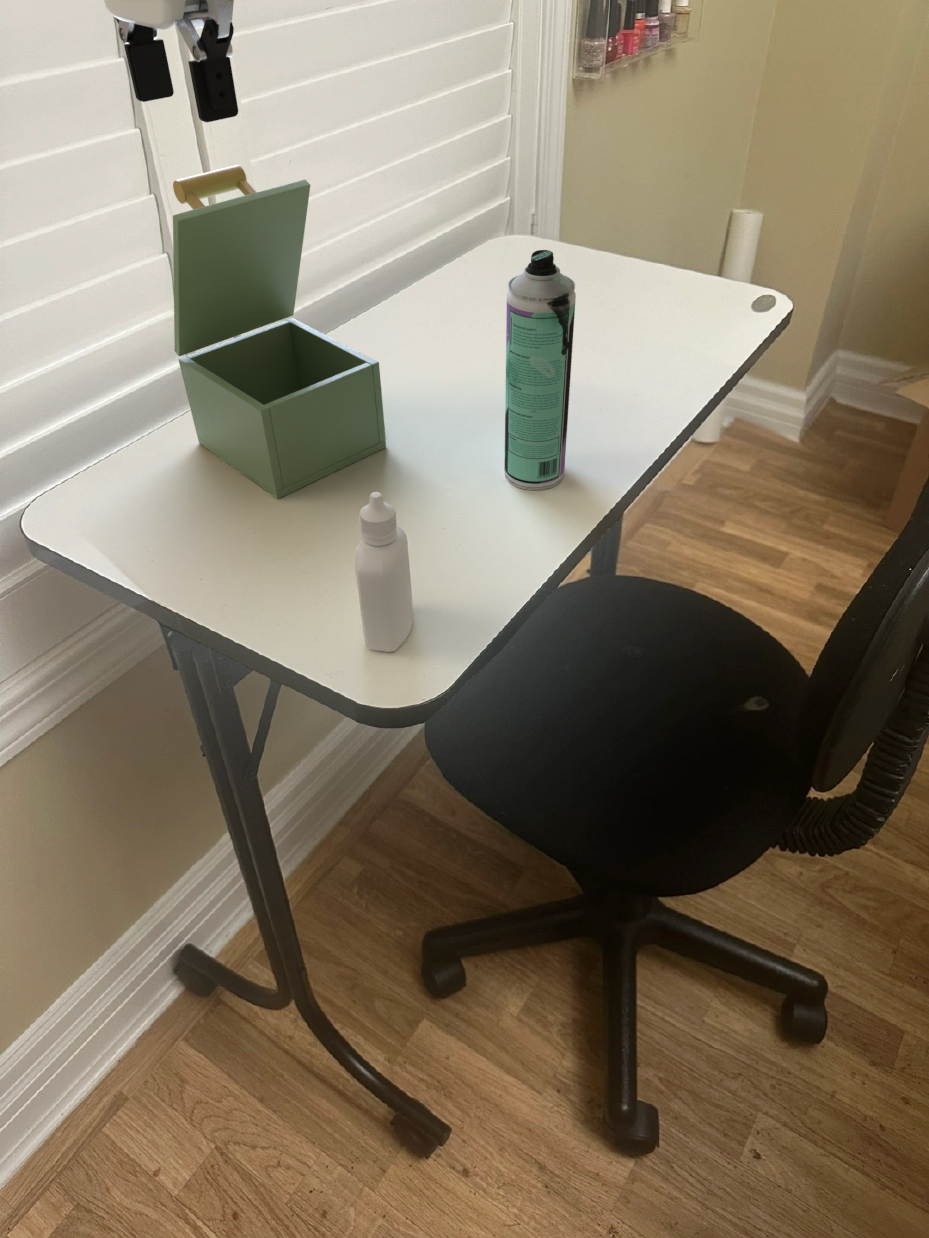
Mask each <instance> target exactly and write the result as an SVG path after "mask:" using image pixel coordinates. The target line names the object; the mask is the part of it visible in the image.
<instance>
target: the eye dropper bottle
mask: <svg viewBox="0 0 929 1238" xmlns="http://www.w3.org/2000/svg"><path fill="white" fill-rule="evenodd" d="M396 513H397V512H396V509H395V507H394V506H393V505H391V504H389V503H387V502H385V501H384V499H383V496H382V493H381V492H379V491H373V492H371V493H370V494H369V502H368V504H366V505H364V506H363V507H362V508H361V509H360V511H359V522H360V531H361V538H360V540H359V542H358V545H357V546H356V550H355V555H354V571H355V578H356V588H357V596H358V604H359V611H360V620H361V627H362V634H363V642H364V645H365V647H366V648H367V649H368V650H371V651H378V652H386V653H391V652H395V651H396V650H398V649H399V648H400V647H401V646H402V645H403V643H405V641H406V640H407V639H408V636H409V635H410V634H411V632H412V628H413V623H414V604H413V603H414V602H413V592H412V578H411V567H410V564H411V563H410V553H409V543H408V537H407V534H406V532H405V530H404V529H403V528H402V527H400V526H398V524H397V514H396Z"/></svg>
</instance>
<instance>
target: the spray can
mask: <svg viewBox="0 0 929 1238" xmlns="http://www.w3.org/2000/svg"><path fill="white" fill-rule="evenodd" d="M554 261H555V259H554V252H553V251H551V250H548V249H538V250H535V251H533V252H532V253H531V256H530V262H529V263H528V265H527V266H526V267H525V268H524V269H523V272H522V273H521V274H518V275H516V276H514V277H512V278H511V279H510V280H509V281H508V283H507V284H508V285H507V289H508V290H507V292H506V322H505V323H506V328H505V402H504V403H505V404H504V477H505V479H506V481H507V482H508V483H510V484H511V485H512V486H514V487H516V488H518V489H521V490H525V491H526V490H527V491H543V490H549V489H551V488H553V487H556V486H557V485H559V484H560V483H561V482H562V481H563V480H564V477H565V468H566V451H567V437H568V422H569V420H568V419H569V407H570V405H569V404H570V402H569V401H570V390H571V375H572V374H571V373H572V360H573V359H572V358H573V344H574V343H573V342H574V328H575V312H576V298H577V297H576V295H577V294H576V292H575V290H576V283H575V282H574V280H573V279H572V278H570V277H569V276H567V275H564V274H563V273H561V269H560V268H559V266H557V265H556V263H555V262H554Z"/></svg>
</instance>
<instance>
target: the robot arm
mask: <svg viewBox="0 0 929 1238" xmlns="http://www.w3.org/2000/svg"><path fill="white" fill-rule="evenodd" d="M103 1H104V4H105V7H106V9H107V11H108V12H109V13H110V14H111V15H112V16H113V17H114V19H115V21H116V22H117V24H118V27H117V31H118V32H117V33H118V37H119V39H120V42H122V43H123V46H124V52H125V55H126V60H127V64H128V68H129V69H128V70H129V73H130V77H131V82H132V86H133V91H134V95H135V98H136V100H137V101H139V102H142V103H146V102H151V101H155V100H162V99H167V98H171V97H173V96H174V93H175V90H174V86H173V81H172V75H171V71H170V65H169V62H168V56H167V51H166V46H165V42H164V41H165V40H164V39H161V38H158V33H159V30H169V29H172V28H173V26H174V25H176V26H177V28H178V30H179V32H180V34H181V36H182V38H183V41H184V42H185V44H186V46H187V48H188V50H189V52H190V54H191V56H192V57H193V60H188V61H187V63H188V67H189V68H188V69H189V74H190V78H191V84H192V89H193V94H194V100H195V104H196V111H197V115H198V119H199V120H200V121H201V122H203V123H212V122H216V121H220V120H224V119H225V120H226V119H230V118H234V117H237V116H238V114H239V108H238V107H239V106H238V100H237V93H236V88H235V87H236V86H235V81H234V76H233V68H232V63H231V58H232V57H233V53H234V52H233V51H234V50H233V45H232V43H231V42H232V40H233V37H234V33H235V31H234V30H235V28H234V25H233V16H234V15H233V13H234V3H235V0H103ZM196 29H202V31H201V33H200V36H199V33H198V32H197V30H196ZM157 38H158V39H157Z"/></svg>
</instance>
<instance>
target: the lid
mask: <svg viewBox="0 0 929 1238" xmlns="http://www.w3.org/2000/svg"><path fill="white" fill-rule="evenodd" d="M172 190H173V193H174V196H175V198H176V199H177V201H178V202H179V203H180V204H181V205H184V204H188V206H190V208H191V209H190V210H187V211H183V212H179V213H176V214H173V215H172V255H173V256H172V257H173V258H172V259H173V263H172V264H173V319H174V320H173V329H174V330H173V334H174V335H173V336H174V338H173V339H174V340H173V341H174V342H173V343H174V352H175V353H176V355H177V356H178V357H182V356H184V355H189V354H192V353H194V352H197V351H200V350H203V349H205V348H207V347H211V346H214V345H217V344H218V343H222V342H225V341H226V340H227V341H228V340H230V339H233V338H234V337H235V338H236V337H237V336H238V337H239V336H241V335H243V334H245V333H246V334H247V333H250V332H251V331H252V332H253V331H255V330H258V329H259V328H260V329H261V328H264V327H266V326H269V325H272V324H275V323H278V322H280V321H283V320H286V319H289V318H290V317H293V316H294V314H295V306H296V298H297V292H298V291H297V290H298V284H299V276H300V269H301V260H302V255H303V247H304V246H303V244H304V237H305V230H306V223H307V222H306V221H307V215H308V207H309V199H310V193H311V184H310V182H308V180H307V179H301V180H297V181H293V182H290V183H287V184H284V185H279V186H275V187H272V188H268V189H264V190H260V191H256V190H255V188H254V187H253V186H252V185H251V184H250V183H249V182H248V179H247V174H246V172H245V170H244V168H243V167H242V165H239V164H234V165H231V166H227V167H223V168H219V169H215V170H211V171H207V172H203V173H200V174H195V175H191V176H187V177H182V178H179V179H175V180H173V183H172ZM236 190H238V191H240V192H241V193H242V194H243V195H242V196H238V197H235V198H231V199H228V200H224V201H220V202H217V203H213V204H209V205H206V204H205V203H203V201H201V200H203V199H207V198H210V197H211V198H212V197H215V196H218V195H221V194H225V193H229V192H233V191H236Z"/></svg>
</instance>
